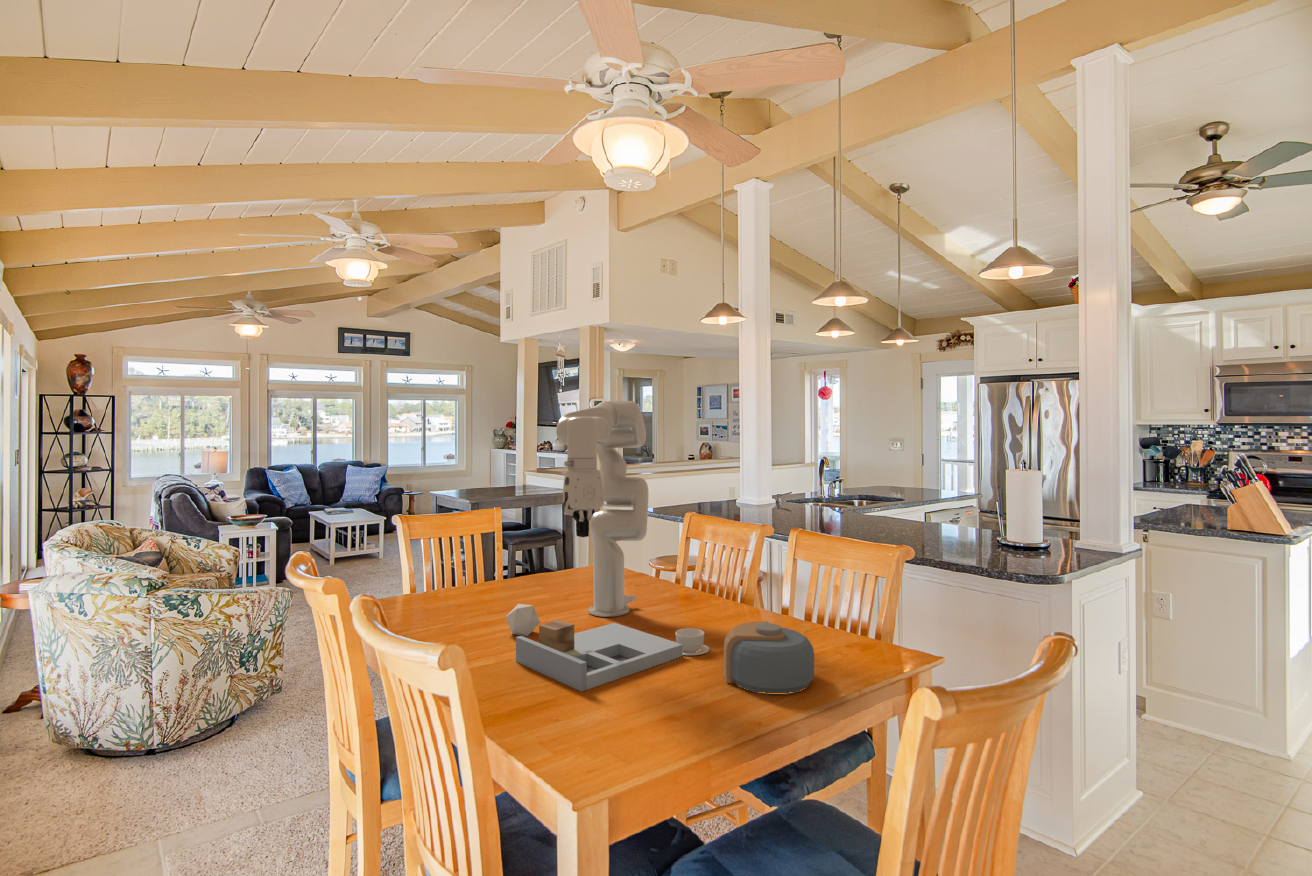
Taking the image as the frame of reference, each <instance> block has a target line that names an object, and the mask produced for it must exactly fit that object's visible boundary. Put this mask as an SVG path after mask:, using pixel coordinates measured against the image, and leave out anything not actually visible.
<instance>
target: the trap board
mask: <svg viewBox="0 0 1312 876" xmlns="http://www.w3.org/2000/svg"><path fill="white" fill-rule="evenodd" d="M681 656H684V655H683V644H680V643H677V641H672V640H670V639H667V638H663V637H661V636H658V635H654V634H651V633H648V632H645V631H642V630H638V629H635V628H632V627H628V626H626V625H622V624H620V623H616V622H612V623H610V624H605V625H601V626H598V627H593V628H590V629H586V630H582V631H579V632H574V649H573V650H570V651H567V652H564V653H563V652H560V651H558V650H555V649H553V648H550V647H548V646H545V645H543V644H540V643H539V641H535V640H532V639H530V638H528V637H527V636H523V635H517V636H515V662H516V663H518V664H520V665H523V666H525V667H527V668H530V669H531V670H534V671H535V672H538V673H540V674H542V675H544V676H546V677H548V678H551V679H554V680H555V681H557V682H559V683H561V684H564V685H566V686H568V687H570V688H572V689H575V690H577V691H580V692H584V691H587V690H590V689H592V688H593V689H594V688H596V687H599V686H602V685H605V684H608V683H611V682H614V681H616V680H618V679H622V678H625V677H628V676H630V675H633V674H636V673H639V672H642V671H646V670H648V669H651V668H653V666H654V667H656V665H657V666H660V665H663V664H665V663H668V662H670V660H671V661H673V659H674V660H676V658H677V659H680V658H682V657H681ZM679 657H680V658H679ZM659 664H660V665H659Z"/></svg>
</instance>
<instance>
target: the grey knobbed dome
mask: <svg viewBox="0 0 1312 876" xmlns="http://www.w3.org/2000/svg"><path fill="white" fill-rule="evenodd" d="M814 651H815V650H814V646H813V644H812V643H811V642H810V640H809V638H808V636H805V635H804V634H803V633H801V632H800V631H797V630H794V629H790V628H787V627H786V628H785V627H782V626H781V625H779V624H776V623H771V622H769V621H767V620H766V621H750V622H744V623H740V624H738V625H736V626H734V627H733V628H731V629H730V630H728V633H727V635H725V638H724V642H723V678H725V679H724V682H725V681H726V682H725V684H726V683H735V684H734V685H736V686H737V685H739V686H741V687H742V688H745V689H748V690H750V691H754V692H753V693H755V692H765V693H789V692H797V691H800V690H802V689H804V688H806V687H807V686H808V685H809V686H810V684H811V682H812V681H813V680H814V679H815V678H814V677H815V652H814ZM739 686H738V687H739ZM809 686H808V687H809ZM741 687H740V688H741ZM808 687H807V688H808ZM742 688H741V689H742ZM807 688H806V689H807ZM745 689H744V690H745ZM748 690H747V691H748ZM750 691H749V692H750Z"/></svg>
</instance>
